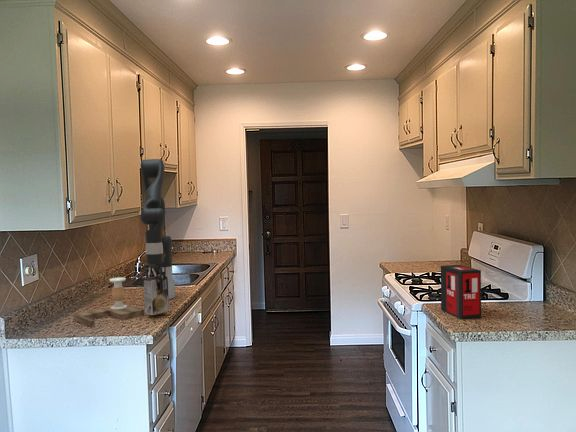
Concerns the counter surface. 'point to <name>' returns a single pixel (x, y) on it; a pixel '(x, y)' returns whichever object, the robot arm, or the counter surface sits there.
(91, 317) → the notched board
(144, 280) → the coffee box
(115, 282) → the bobbin
